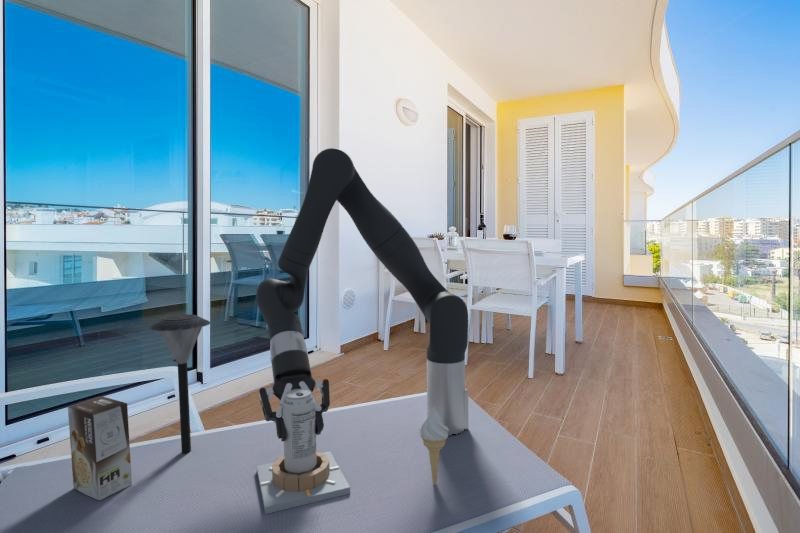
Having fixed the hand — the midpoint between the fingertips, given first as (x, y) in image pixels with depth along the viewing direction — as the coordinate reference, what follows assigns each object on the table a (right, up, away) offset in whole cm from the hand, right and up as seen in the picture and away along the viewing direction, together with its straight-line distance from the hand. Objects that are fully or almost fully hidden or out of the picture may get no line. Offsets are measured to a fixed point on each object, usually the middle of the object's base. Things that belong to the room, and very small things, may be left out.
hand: (301, 436), depth 84 cm
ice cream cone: (+25, -10, +1) cm, 27 cm away
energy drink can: (-1, -7, +2) cm, 8 cm away
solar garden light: (-29, -9, +15) cm, 34 cm away
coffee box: (-38, -10, +1) cm, 40 cm away
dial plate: (0, -10, +2) cm, 10 cm away
